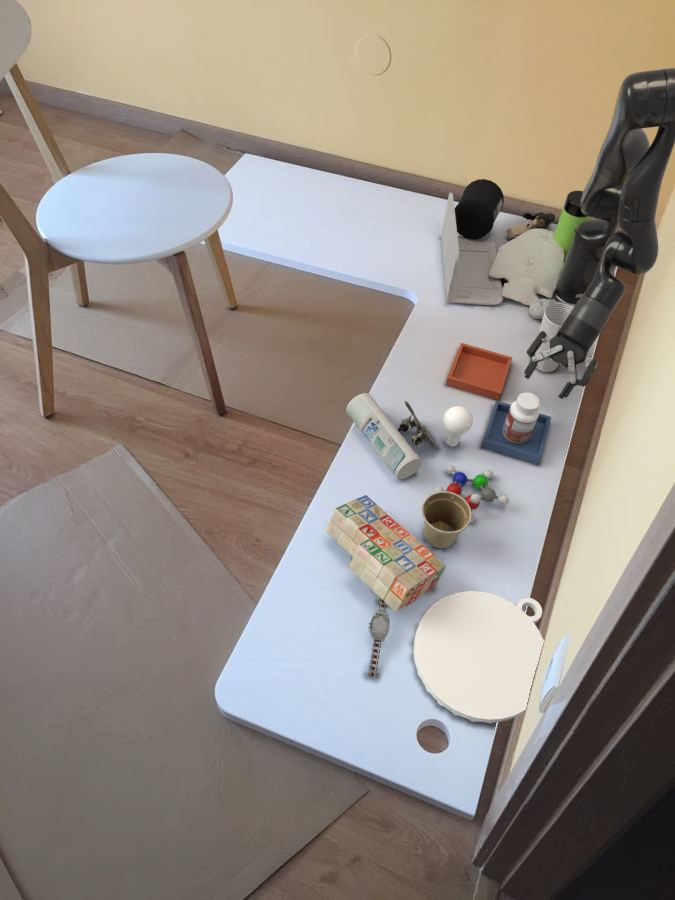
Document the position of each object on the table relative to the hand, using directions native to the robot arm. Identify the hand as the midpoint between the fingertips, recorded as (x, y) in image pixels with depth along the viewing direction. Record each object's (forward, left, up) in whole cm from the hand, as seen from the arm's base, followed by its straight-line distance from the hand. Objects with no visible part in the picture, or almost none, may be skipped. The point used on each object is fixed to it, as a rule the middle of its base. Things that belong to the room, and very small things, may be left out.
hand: (543, 388), depth 160 cm
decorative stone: (-34, -1, -9) cm, 35 cm away
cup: (-18, 0, -9) cm, 20 cm away
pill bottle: (+7, -2, -9) cm, 12 cm away
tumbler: (-63, -4, -9) cm, 63 cm away
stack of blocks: (+44, -18, -7) cm, 48 cm away
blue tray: (+7, -2, -9) cm, 12 cm away
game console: (-44, -25, -9) cm, 52 cm away
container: (-56, -30, -3) cm, 63 cm away
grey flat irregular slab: (-35, -12, -7) cm, 38 cm away
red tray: (-8, -14, -9) cm, 19 cm away
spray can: (+28, -21, -6) cm, 35 cm away
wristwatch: (+64, -16, -9) cm, 66 cm away
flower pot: (+39, -11, -9) cm, 41 cm away
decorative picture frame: (+20, -19, -1) cm, 28 cm away
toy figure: (-62, -19, -5) cm, 65 cm away
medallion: (+59, +3, -7) cm, 59 cm away
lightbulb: (+15, -15, -9) cm, 23 cm away
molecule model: (+21, -11, -9) cm, 25 cm away
